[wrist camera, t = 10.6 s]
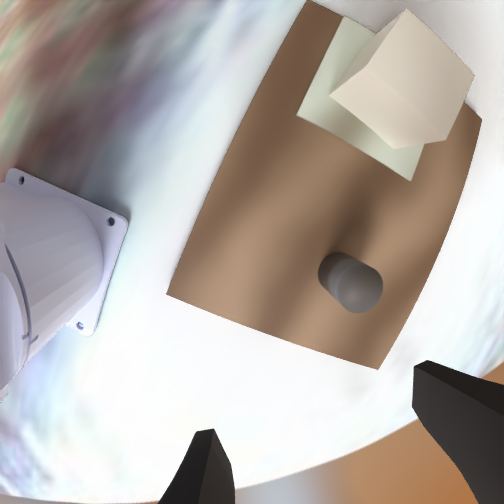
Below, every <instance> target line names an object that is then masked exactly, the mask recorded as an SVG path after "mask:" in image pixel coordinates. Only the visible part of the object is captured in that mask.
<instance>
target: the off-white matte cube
mask: <svg viewBox="0 0 504 504" xmlns="http://www.w3.org/2000/svg"><path fill="white" fill-rule="evenodd" d="M474 76H475V75H474V74H473V73H472V72H471V70H470V69H469V68H468V67H467V66H466V65H465V64H464V63H463V62H462V60H461V59H460V58H459V57H458V56H457V55H456V54H455V53H454V52H453V51H452V50H451V49H450V48H449V47H448V46H447V45H446V44H445V43H444V42H443V41H442V40H441V39H440V38H439V37H438V36H437V35H436V34H435V33H434V32H433V31H432V30H431V29H430V28H428V27H427V26H426V25H425V24H424V23H423V22H422V21H421V20H420V19H418V18H417V17H416V16H415V15H414V14H413V13H411V12H410V11H409V10H408V9H407V8H406V9H405V10H404V11H403V12H402V13H400V14H399V15H398V16H397V17H396V18H394V19H393V20H392V21H391V22H390V23H389V24H387V25H386V26H385V27H384V28H383V29H382V30H381V31H379V32H378V33H377V34H376V35H375V36H374V37H373V38H372V39H370V40H369V41H368V42H367V43H366V45H365V46H364V47H363V49H362V50H361V51H360V53H359V54H358V56H357V57H356V58H355V60H354V61H353V62H352V64H351V65H350V67H349V68H348V69H347V71H346V72H345V74H344V75H343V76H342V78H341V79H340V80H339V82H338V83H337V85H336V86H335V87H334V89H333V90H332V92H331V93H330V94H329V96H330V97H332V98H333V99H334V100H336V101H337V102H338V103H340V104H341V105H342V106H343V107H345V108H346V109H347V110H349V111H350V112H351V113H352V114H354V115H355V116H356V117H357V118H358V119H360V120H361V121H362V122H363V123H365V124H366V125H367V126H368V127H369V128H371V129H372V130H373V131H374V132H375V133H376V134H378V135H379V136H380V137H381V138H382V139H383V140H384V141H386V142H387V143H388V144H389V145H390V146H391V147H392V148H393V149H398V148H403V147H409V146H415V145H420V144H426V143H432V142H438V141H445V140H446V138H447V136H448V134H449V132H450V130H451V128H452V126H453V124H454V122H455V120H456V118H457V115H458V113H459V111H460V109H461V107H462V104H463V102H464V100H465V98H466V95H467V93H468V91H469V88H470V86H471V84H472V81H473V79H474Z"/></svg>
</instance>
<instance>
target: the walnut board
mask: <svg viewBox="0 0 504 504" xmlns="http://www.w3.org/2000/svg"><path fill="white" fill-rule="evenodd" d="M375 35H376V34H375V33H374V32H372V31H370V30H369V29H367V28H365V27H364V26H362V25H360V24H358V23H357V22H355V21H353V20H351V19H350V18H348V17H346V16H344V17H342V16H340V15H339V14H337V13H335V12H333V11H331V10H329V9H327V8H325V7H323V6H321V5H319V4H317V3H314V2H312V1H310V0H307V1H306V3H305V4H304V6H303V8H302V9H301V11H300V13H299V15H298V16H297V18H296V20H295V22H294V23H293V25H292V27H291V29H290V30H289V32H288V34H287V36H286V38H285V39H284V41H283V43H282V45H281V47H280V48H279V50H278V52H277V54H276V56H275V58H274V59H273V61H272V63H271V65H270V67H269V69H268V71H267V73H266V75H265V76H264V78H263V80H262V82H261V84H260V86H259V88H258V90H257V92H256V94H255V96H254V98H253V100H252V102H251V104H250V106H249V108H248V110H247V112H246V114H245V116H244V118H243V120H242V122H241V124H240V126H239V128H238V130H237V132H236V134H235V136H234V138H233V140H232V142H231V145H230V147H229V149H228V151H227V153H226V155H225V157H224V159H223V162H222V164H221V166H220V168H219V170H218V172H217V175H216V177H215V179H214V181H213V183H212V186H211V188H210V190H209V192H208V195H207V197H206V199H205V201H204V204H203V206H202V208H201V210H200V213H199V215H198V217H197V220H196V222H195V224H194V227H193V229H192V231H191V234H190V236H189V239H188V241H187V243H186V246H185V248H184V251H183V253H182V256H181V258H180V260H179V263H178V265H177V268H176V270H175V273H174V275H173V278H172V280H171V283H170V286H169V288H168V291H167V293H166V294H167V295H169V296H171V297H174V298H176V299H179V300H181V301H183V302H186V303H188V304H191V305H193V306H196V307H198V308H201V309H203V310H206V311H208V312H211V313H213V314H216V315H218V316H221V317H223V318H226V319H229V320H231V321H234V322H236V323H239V324H242V325H244V326H247V327H250V328H252V329H255V330H258V331H261V332H263V333H266V334H269V335H272V336H275V337H277V338H280V339H283V340H286V341H289V342H292V343H295V344H297V345H300V346H303V347H306V348H309V349H312V350H315V351H318V352H321V353H325V354H328V355H331V356H334V357H337V358H340V359H343V360H347V361H350V362H353V363H356V364H360V365H363V366H366V367H370V368H373V369H377V370H378V369H379V368H380V366H381V364H382V363H383V361H384V359H385V358H386V356H387V354H388V353H389V351H390V349H391V348H392V346H393V344H394V342H395V341H396V339H397V337H398V335H399V333H400V332H401V330H402V328H403V326H404V324H405V323H406V321H407V319H408V317H409V315H410V313H411V311H412V309H413V307H414V305H415V303H416V301H417V299H418V297H419V295H420V293H421V291H422V289H423V287H424V285H425V283H426V281H427V279H428V277H429V274H430V272H431V270H432V268H433V265H434V263H435V261H436V259H437V256H438V254H439V252H440V249H441V247H442V244H443V242H444V240H445V237H446V235H447V232H448V230H449V227H450V224H451V222H452V219H453V216H454V214H455V211H456V208H457V205H458V202H459V200H460V197H461V194H462V191H463V188H464V184H465V181H466V178H467V175H468V172H469V168H470V165H471V161H472V158H473V154H474V151H475V147H476V143H477V139H478V135H479V131H480V127H481V122H482V119H481V118H480V117H479V116H478V115H477V114H476V113H475V112H474V111H473V110H472V109H471V108H470V107H469V106H468V105H466V104H465V103H464V102H463V104H462V107H461V109H460V111H459V113H458V115H457V118H456V120H455V122H454V124H453V126H452V128H451V130H450V132H449V134H448V136H447V138H446V140H445V141H438V142H432V143H426V144H420V145H415V146H409V147H403V148H398V149H393V148H392V147H391V146H390V145H389V144H388V143H387V142H386V141H384V140H383V139H382V138H381V137H380V136H379V135H378V134H376V133H375V132H374V131H373V130H372V129H371V128H369V127H368V126H367V125H366V124H365V123H363V122H362V121H361V120H360V119H358V118H357V117H356V116H355V115H354V114H352V113H351V112H350V111H349V110H347V109H346V108H345V107H343V106H342V105H341V104H340V103H338V102H337V101H336V100H334V99H333V98H332V97H330V96H329V94H330V93H331V92H332V90H333V89H334V87H335V86H336V85H337V83H338V82H339V80H340V79H341V78H342V76H343V75H344V74H345V72H346V71H347V69H348V68H349V67H350V65H351V64H352V62H353V61H354V60H355V58H356V57H357V56H358V54H359V53H360V51H361V50H362V49H363V47H364V46H365V45H366V43H367V42H368V41H369V40H370V39H372V38H373V37H374V36H375Z"/></svg>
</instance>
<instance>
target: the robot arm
mask: <svg viewBox="0 0 504 504" xmlns="http://www.w3.org/2000/svg"><path fill="white" fill-rule="evenodd" d="M23 177H24V183H23V184H22V178H23ZM110 217H112V218H113V219H114V220H115V224H114V225H113V226H111V225H110V224H109V218H110ZM127 228H128V221H127V220H126V218H125V217H123V216H121V215H119V214H116V213H114V212H112V211H110V210H107V209H105V208H103V207H101V206H98V205H96V204H94V203H92V202H89V201H87V200H85V199H83V198H80V197H78V196H76V195H74V194H72V193H69V192H67V191H65V190H63V189H61V188H58V187H56V186H54V185H52V184H50V183H47V182H45V181H43V180H41V179H39V178H36V177H34V176H32V175H30V174H28V173H26V172H23V171H21V170H19V169H17V168H10V169H9V170H8V172H7V175H6V178H5V181H4V182H0V403H1V402H2V401H3V400H4V398H5V397H6V396H7V395H8V384H9V382H10V381H11V380H12V379H13V378H14V377H15V376H16V374H17V373H18V372H19V371H20V370H21V369H22V368H23V367H24V366H25V365H26V363H27V362H28V361H29V360H30V359H31V358H32V357H33V356H34V355H35V354H36V353H37V352H38V351H39V350H40V349H41V348H42V347H43V346H44V345H45V344H46V343H47V342H48V341H49V340H50V339H51V338H52V337H53V336H54V335H55V334H56V333H57V332H58V331H59V330H60V329H61V328H62V327H63V326H64V325H66V326H68V327H70V328H72V329H74V330H76V331H78V332H80V333H82V334H84V335H86V336H91V335H93V334H94V332H95V330H96V326H97V322H98V319H99V315H100V311H101V308H102V304H103V301H104V298H105V294H106V291H107V287H108V284H109V281H110V278H111V275H112V272H113V268H114V265H115V262H116V259H117V256H118V253H119V251H120V248H121V245H122V242H123V239H124V236H125V234H126V231H127ZM79 322H81V323H82V324H83V326H84V327H81V326H80V325H79ZM412 408H413V409H414V411H415V413H416V414H417V416H418V418H419V419H420V421H421V422H422V424H423V426H424V427H425V428H426V430H427V431H428V432H429V433H430V434H431V436H432V437H433V438H434V439H435V440H436V441H437V443H438V444H439V445H440V446H441V448H442V449H443V450H444V451H445V452H446V454H447V455H448V456H449V457H450V458H451V460H452V461H453V462H454V463H455V465H456V466H457V467H458V469H459V470H460V472H461V473H462V474H463V476H464V478H465V480H466V482H467V483H468V485H469V487H470V488H471V490H472V492H473V494H474V495H475V498H476V499H477V501H478V503H479V504H504V385H502V384H498V383H494V382H491V381H487V380H483V379H480V378H477V377H474V376H471V375H468V374H465V373H462V372H459V371H457V370H454V369H451V368H449V367H446V366H443V365H441V364H438V363H435V362H432V361H429V360H426V361H424V362H422V363H420V364H418V365H416V366H414V378H413V398H412ZM0 437H1V435H0ZM158 504H235V487H234V480H233V474H232V468H231V463H230V461H229V459H228V457H227V455H226V453H225V451H224V449H223V447H222V445H221V443H220V440H219V438H218V436H217V434H216V432H215V430H214V429H208V430H203V431H197V432H196V433H195V435H194V437H193V439H192V442H191V444H190V446H189V448H188V451H187V453H186V455H185V457H184V459H183V461H182V463H181V465H180V467H179V469H178V471H177V473H176V475H175V476H174V478H173V480H172V482H171V483H170V485H169V487H168V488H167V490H166V492H165V493H164V495H163V496H162V498H161V499H160V501H159V502H158Z"/></svg>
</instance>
